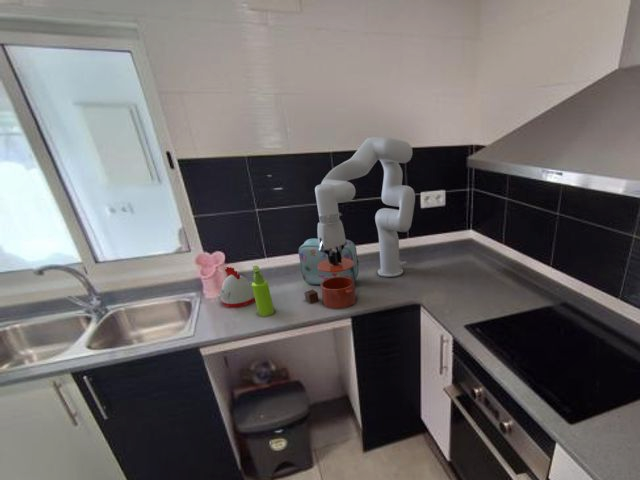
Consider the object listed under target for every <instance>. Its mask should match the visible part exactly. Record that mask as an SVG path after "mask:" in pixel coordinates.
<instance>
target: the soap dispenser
mask: <svg viewBox="0 0 640 480" xmlns="http://www.w3.org/2000/svg"><path fill="white" fill-rule="evenodd" d="M252 268H253V271H254V274H253V275H252V277H253V281H254V282H252V288H253V292H254V296H255V304H256V308H257V312H258V315H259V316H260V317H268V316H271V315H273V314H274V313H275V309H274V306H273V305H274V304H273V300H272V299H273V298H272V295H271V290H270V286H269V283H268V281H267V280H264V275H263V273H261V270H260V267H259V265H253V266H252Z"/></svg>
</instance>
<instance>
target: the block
mask: <svg viewBox="0 0 640 480" xmlns="http://www.w3.org/2000/svg"><path fill="white" fill-rule="evenodd" d="M304 298H305V301H306V302H307V303H309V304H313V303H317V302H319V299H320V298H319V294H318V291H316V290H314V289H310V290H307V291H304Z"/></svg>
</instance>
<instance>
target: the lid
mask: <svg viewBox="0 0 640 480" xmlns="http://www.w3.org/2000/svg"><path fill="white" fill-rule="evenodd" d="M332 255H333V256H334V260H335V265H332V264H330V263H329V260H324V261H322V262H320V263H319V264H318V269H319V270H320V271H323V272H330V273H333V272H341V271H345V270H348V269H350V268H352V267H353V266H354V262H353V261H352V260H351V259H347V258H342V260H341V261H342V263H339V261H338V254H337V251H332Z"/></svg>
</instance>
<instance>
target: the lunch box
mask: <svg viewBox="0 0 640 480" xmlns="http://www.w3.org/2000/svg"><path fill="white" fill-rule="evenodd" d="M345 240H346V242H347V245H346V246H345V247H344V248H343V250H342V253H341V257H342V258H347V259H351V260H352V261H353V262H354V266H353V267H352V268H350V269H348V270H345V271H341V272H333V273H330V272H323V271H320V270H319V269H318V264H319V263H320V262H322V261H324V260H328V255H327V254H326V253H323V252H320V251H319V247H320V246H319V243H318V238H309V239H306V240H305V241H304V243H303V244H302V245H300V246H299V247H298V258H299V263H300V269H301V275H302V276H301V277H302V279H303V281H304V282H305V283H307V284H309V285H320V286H321V283H322V282H323V279H325V278H333V277H348V278H351V279H353V281H354V284H355V283H356V281H357V278H358V275H359V265H360V264H361V261H360V258H359V256H358V253H357V246H356V244H355V243H354V242H353V241H352V240H350V239H346V238H345ZM324 249H325V248H324ZM325 250H326V249H325ZM332 251H336V249H335V247H334V248H332Z"/></svg>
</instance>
